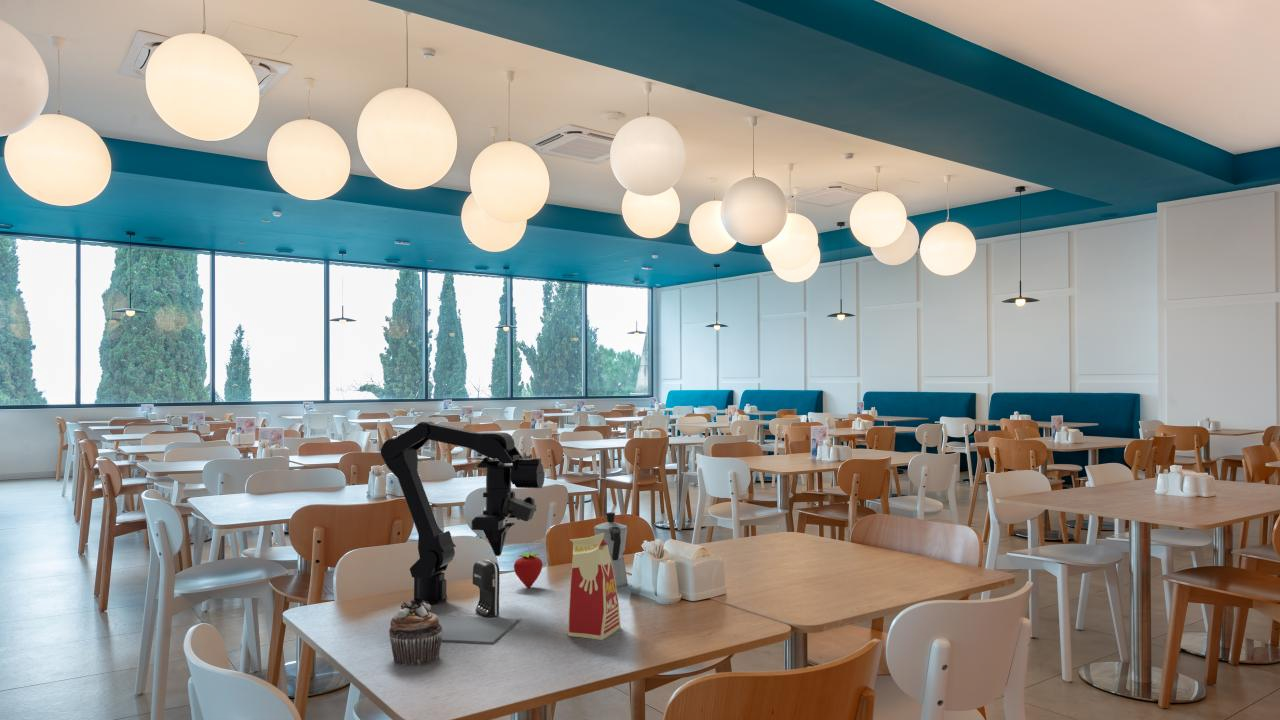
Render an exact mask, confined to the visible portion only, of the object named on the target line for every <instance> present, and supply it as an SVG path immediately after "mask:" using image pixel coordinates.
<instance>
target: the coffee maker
mask: <svg viewBox="0 0 1280 720" xmlns="http://www.w3.org/2000/svg"><path fill="white" fill-rule="evenodd" d="M605 515H606V522H602V523H599V524H596V525H595V526H594V527H593V530H594V531H593V532H594V533H593V534H594V536H595V535H598V534H602V533H604V536H603V540H604V541H605V542H606V543H607V544H608V549H609V553H610V558H611V562H612V566H613V571H614V576H615V582H616V588H622V586H623V587H625V586H628V585H629V583H628V576H627V570H626V564H625V557H624V556H623V555H624V554H623V553H624V552H625V549H626V543H627V541H626V540H627V534H628V525H626V524H622V523H619V522H616V521H615V518H616V517H615V516H616V512H612V511H611V512H605Z"/></svg>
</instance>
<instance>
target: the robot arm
mask: <svg viewBox="0 0 1280 720" xmlns="http://www.w3.org/2000/svg"><path fill="white" fill-rule="evenodd" d="M428 441H434V442H438V443H439V442H440V443H443V444H449V445H453V446H459V447H463V448H468V449H470V450H473V451H474V452H476V453H478V454H480V455H483V456H484V458H483V459H482V460H481V462H479V463H478V464H477V468H479V469H480V468H482V469H486V470H485V474H486V475H485V476H486V477H485V491H484V492H483V493H482V498H485V509H483V511H482V514H479V515H477V516H475V517H474V518H473V519H472V520H471V531H472V530H473V531H483V533H484V535H485V537H486V539H487V540H488V543H489V545H490V547H491V549H492V551H493V553H494V555H495V556H496V557H500V556H501V555H502V552H503V549H504V544H505V540H506V537H507V534H508V531H510V529H511V528H513V527H514V525H515V524H516V522H510V519H516V520H519V521H520V520H521V521H523V522H528V521H530V520H532V519H533V516H534V514H535V512H536V511H537V504H535V503H536V501H535V498H534V497H532V496H527V497H525V498H524V499H521V498H520V499H519V498H517V497H516V493H515V491H514V490H512V485H514V486H515V488H517V489H518V488H519V489H542V488H543V486H544V484H545V474H546V472H545V471H544V465H543V464H542V458H541V457H540V458H538V457H537V458H524V457H523V456H522V454H521V453H520V452H519V450H518V448H517V447H516V445H515V440H514V439H513V436H512V435H510V433H508V432H502V431H501V432H500V431H499V432H495V431H494V432H492V431H490V432H489V431H488V432H487V431H486V432H480V431H479V432H477V431H473V430H469V429H462V428H459V427H455V426H454V427H453V426H448V425H443V424H440V423H434V422H433V421H421V422H418V423H417V424H416V425H415V426H413V427H412V428H410V429H409V430H407V431H405V432H404V433H401V434H400V435H398V436H397V437H395V438H391V439H387V440H386V441H384V442H383V444H382V447H380V456H381V458H382V460H383V462H384V463H385V465H386V467H387V468H388V469H389V470H390V472H391V473H392V474H393V475H394V476H395V477H396V479H397V481H398V483H399V485H400V488H401V491H402V494H403V496H404V499H405V502H406V504H407V506H408V507H407V508H408V511H409V513H410V516H411V518H412V521H413V523H414V526H415V528H416V531H417V535H418V536H417V537H418V539H417V550H418V551H417V552H418V556H419V559H417V560H416V562H414V564H412V565H411V566H410V568H409V571H410V575H411V577H412V578H413V598H412V600H410V604H419V603H420V602H421V601H423V600H424V601H425V602H429V603H428V604H429V605H437V604H439V603H440V602H442V601H444V600H446V598H448V594H447V579H446V578H445V572H444V571H447V569H448V566H449V564H450V563H451V562H452V561H453V560H454V557H455V555H456V554H455V553H456V552H455V547H456V544H455V543H454V541H453V539H452V534H451V531H449V530H447V531H445V532H444V531H443V530H442V529H441V528H440V527H439V525H438V523H437V520H436V517H435V515H434V513H433V510H432V506H431V503H430V502H429V499H428V497H427V494H426V491H425V488H424V485H423V483H422V480H421V476H420V475H419V472H418V466H419V465H418V464H419V457H418V452H417V451H418V450H420V449H421V448H422V447H423V446H425V445H426V444H427V442H428ZM493 459H495V460H493Z"/></svg>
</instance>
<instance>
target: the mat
mask: <svg viewBox="0 0 1280 720" xmlns="http://www.w3.org/2000/svg"><path fill="white" fill-rule="evenodd" d="M437 617H438V619H439V624H440V625H441V627H442V628H443V630H444V631H443V636H442V641H441V643H442V642H443V643H445V642H446V643H462V644H463V643H464V644H465V643H466V644H481V645H482V644H484V645H494V644H495V643H496V642H497V641H498V640H500V639H501V637H503V635H504V634H506V633H507V632H508V631H509V630H510V629H512V628H513V627H514V626H515V625H516V624H517V623H519V621H520V619H519V618H503V617H501V618H500V617H484V616H481V617H476V616H459V615H458V616H456V615H437Z"/></svg>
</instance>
